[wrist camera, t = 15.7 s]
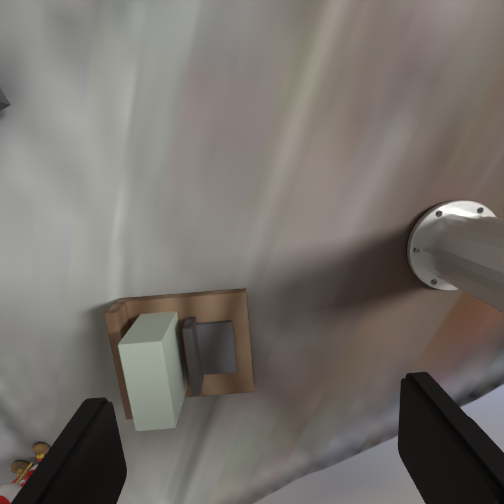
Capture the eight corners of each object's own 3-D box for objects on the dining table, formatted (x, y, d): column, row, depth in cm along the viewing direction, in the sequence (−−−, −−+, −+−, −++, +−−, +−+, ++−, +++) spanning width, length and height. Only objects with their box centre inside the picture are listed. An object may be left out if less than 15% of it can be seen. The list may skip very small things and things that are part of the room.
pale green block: (176, 311, 43) (161, 341, 35) (187, 385, 46) (175, 428, 38) (140, 314, 43) (117, 344, 35) (154, 388, 46) (135, 431, 38)
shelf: (245, 288, 44) (246, 302, 39) (254, 385, 48) (255, 408, 43) (119, 298, 44) (104, 313, 39) (138, 394, 48) (126, 419, 43)
